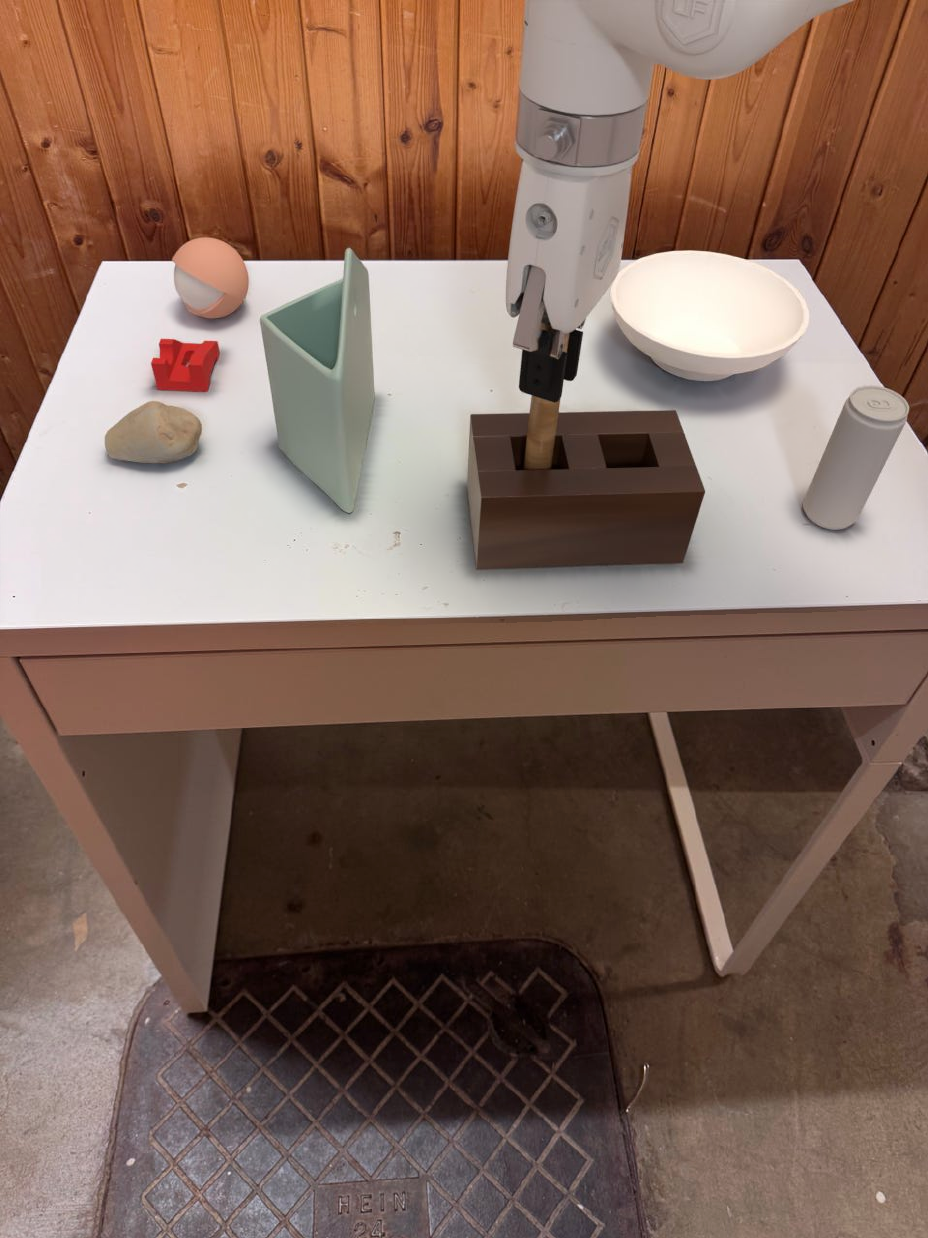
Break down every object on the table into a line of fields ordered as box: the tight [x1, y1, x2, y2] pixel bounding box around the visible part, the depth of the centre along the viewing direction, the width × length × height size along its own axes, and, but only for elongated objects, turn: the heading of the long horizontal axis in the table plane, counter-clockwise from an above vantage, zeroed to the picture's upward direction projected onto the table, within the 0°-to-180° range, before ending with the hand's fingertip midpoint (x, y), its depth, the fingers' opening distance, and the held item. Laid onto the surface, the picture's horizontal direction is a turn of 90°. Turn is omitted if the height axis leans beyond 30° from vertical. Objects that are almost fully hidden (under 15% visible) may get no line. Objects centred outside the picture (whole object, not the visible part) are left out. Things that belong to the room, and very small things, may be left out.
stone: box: [104, 400, 203, 464], centre depth 83 cm, size 7×6×8 cm
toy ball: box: [171, 236, 250, 319], centre depth 96 cm, size 8×8×8 cm
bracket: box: [150, 338, 221, 393], centre depth 91 cm, size 6×5×3 cm
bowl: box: [609, 250, 810, 382], centre depth 94 cm, size 20×20×7 cm
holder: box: [466, 409, 706, 571], centre depth 77 cm, size 10×17×8 cm, turn 94°
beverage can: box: [802, 384, 910, 531], centre depth 77 cm, size 5×5×12 cm
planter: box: [259, 247, 376, 514], centre depth 78 cm, size 16×8×20 cm, turn 177°
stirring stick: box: [523, 323, 570, 470], centre depth 72 cm, size 2×2×20 cm
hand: (547, 382), depth 69 cm, fingers closed on stirring stick, 2 cm apart
